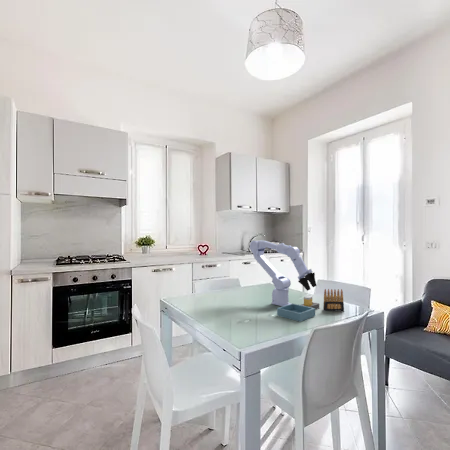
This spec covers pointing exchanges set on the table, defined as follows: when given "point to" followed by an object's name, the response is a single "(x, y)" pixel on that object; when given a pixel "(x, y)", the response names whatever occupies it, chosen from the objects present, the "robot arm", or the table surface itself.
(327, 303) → the ammunition clip
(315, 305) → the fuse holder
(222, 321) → the table surface
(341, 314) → the table surface
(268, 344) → the table surface
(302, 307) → the parts tray
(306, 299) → the block
